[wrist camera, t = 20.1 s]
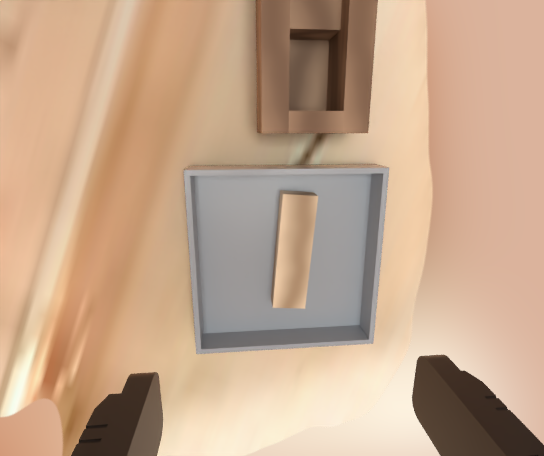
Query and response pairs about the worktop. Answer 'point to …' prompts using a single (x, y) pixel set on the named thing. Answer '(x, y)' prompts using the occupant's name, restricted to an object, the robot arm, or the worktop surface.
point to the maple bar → (293, 248)
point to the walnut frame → (314, 65)
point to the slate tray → (261, 250)
